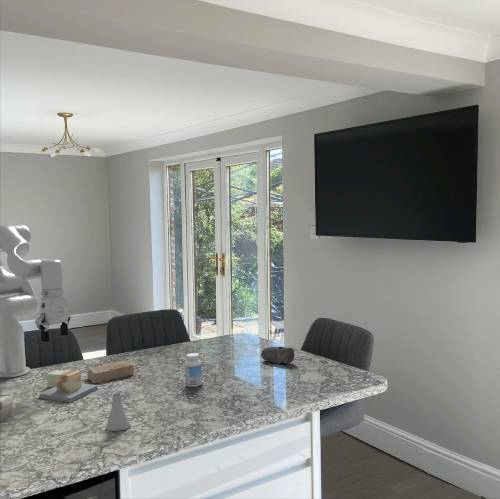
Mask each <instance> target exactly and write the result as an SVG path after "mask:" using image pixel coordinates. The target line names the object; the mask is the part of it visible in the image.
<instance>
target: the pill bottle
mask: <svg viewBox="0 0 500 499" xmlns="http://www.w3.org/2000/svg"><path fill="white" fill-rule="evenodd" d="M185 356H186V358H185V359H186V360H185V361H184V372H185V373H184V377H185V385H186V386H187V387H190V388H195V387H196V388H197V387H199V386H201V385H202V384H203V371H202V368H203V367H202V361H201V360H200V354H199V353H197V352H194V353H193V352H192V353H187V354H186V355H185Z"/></svg>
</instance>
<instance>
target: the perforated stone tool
mask: <svg viewBox="0 0 500 499" xmlns="http://www.w3.org/2000/svg"><path fill="white" fill-rule="evenodd" d="M260 355H261V358H262V359H263V360H264V361H265V362H271V363H272V364H277V365H280V364H283V365H288V364H290V363H293V361H294V359H295V349H293V348H292V347H287V346H286V347H285V346H284V347H283V346H269V347H268V346H267V347H265V348H263V349H262V350H261V353H260Z"/></svg>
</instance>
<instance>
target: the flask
mask: <svg viewBox="0 0 500 499" xmlns="http://www.w3.org/2000/svg"><path fill="white" fill-rule="evenodd" d="M110 396H111V398H112V404H111V409H110V412H109V416H108V420H107V422H106V426H105V429H106V431H109V432H121V431H126V430H127V429H129V428H130V427H131V422H130V421H129V418H128V416H127V414H126V411H125V408H124V406H123V402H122V401H123V400H122V397H123V393H122V392H115V393H112V394H111V395H110Z"/></svg>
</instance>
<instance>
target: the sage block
mask: <svg viewBox="0 0 500 499" xmlns="http://www.w3.org/2000/svg"><path fill="white" fill-rule="evenodd" d="M63 371H64V370H61V369H60V370H58V369H56V370H53V371H50V372H48V373H46V381H47V382H46V383H47V387H49V388H54V387H56V374H58V373H60V372H63Z"/></svg>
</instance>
